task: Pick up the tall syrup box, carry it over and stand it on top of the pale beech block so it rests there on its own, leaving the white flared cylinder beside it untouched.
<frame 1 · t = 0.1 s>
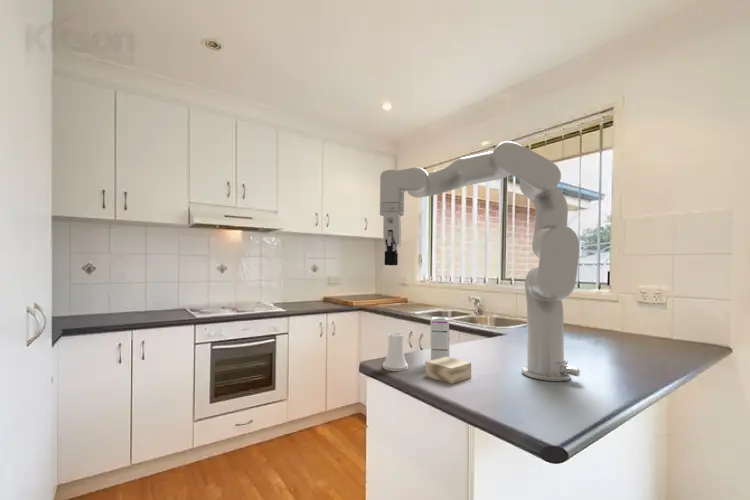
hand: (391, 265, 112), 31 cm above the countertop, tool pointing down, fingers open, 9 cm apart
beech block: (448, 376, 101), on the countertop
white flared cylinder: (395, 368, 110), on the countertop
syrup box: (440, 364, 115), on the countertop
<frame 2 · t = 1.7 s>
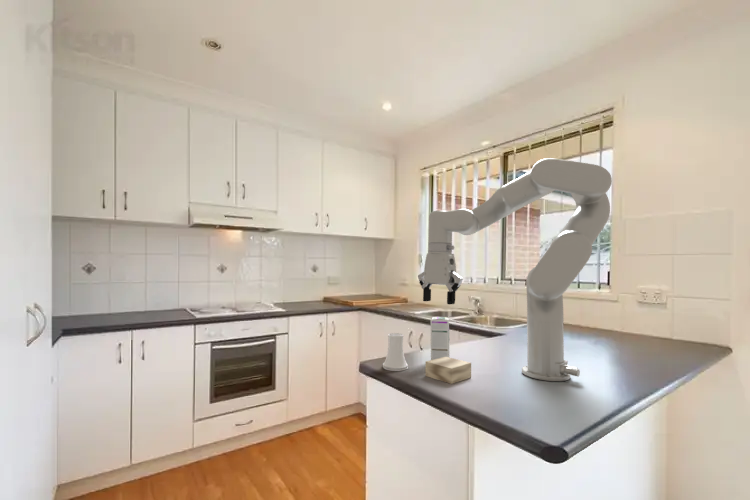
hand: (438, 302, 116), 19 cm above the countertop, tool pointing down, fingers open, 9 cm apart
nothing on the countertop moved.
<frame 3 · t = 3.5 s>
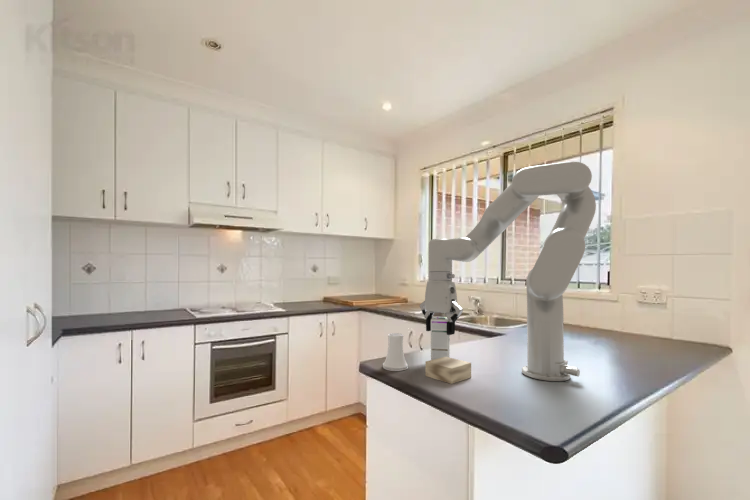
hand: (440, 332, 115), 10 cm above the countertop, tool pointing down, fingers closed on syrup box, 7 cm apart
syrup box: (440, 364, 115), on the countertop, touching gripper
everything else where it was.
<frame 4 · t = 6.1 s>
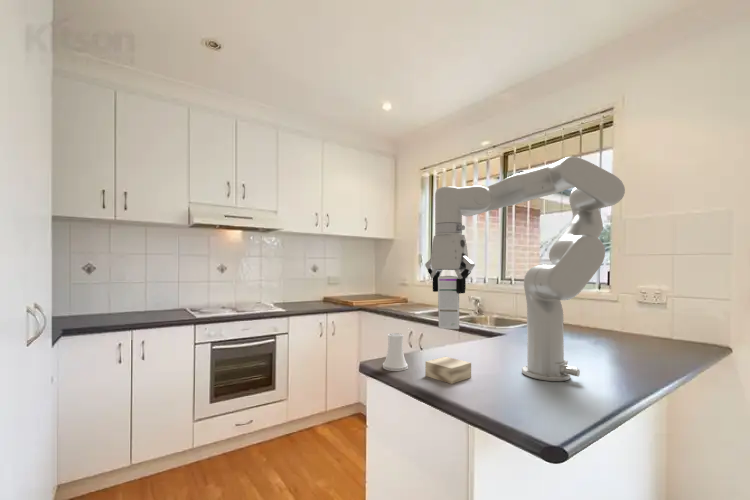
hand: (448, 292, 103), 24 cm above the countertop, tool pointing down, fingers closed on syrup box, 7 cm apart
syrup box: (448, 328, 102), point 14 cm above the countertop, touching gripper
everything else where it was.
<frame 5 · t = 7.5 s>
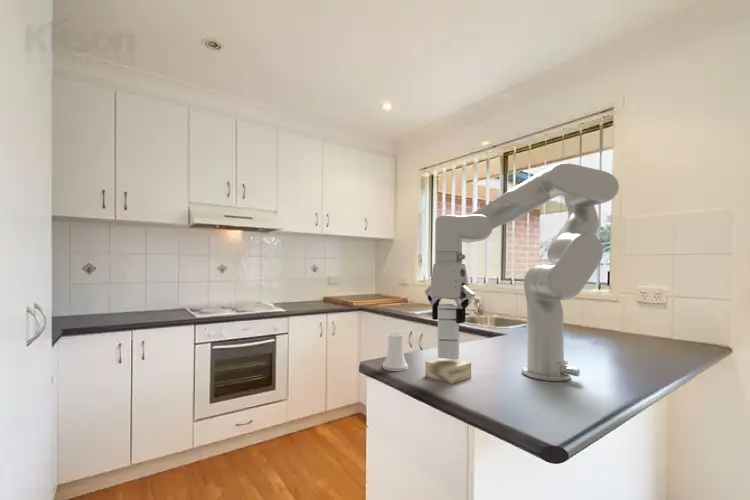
hand: (448, 320, 102), 16 cm above the countertop, tool pointing down, fingers closed on syrup box, 7 cm apart
syrup box: (448, 357, 102), point 5 cm above the countertop, touching gripper
everything else where it was.
when the fingers open (15 cm above the countertop, at t = 8.7 s): syrup box stays where it is, resting on beech block.
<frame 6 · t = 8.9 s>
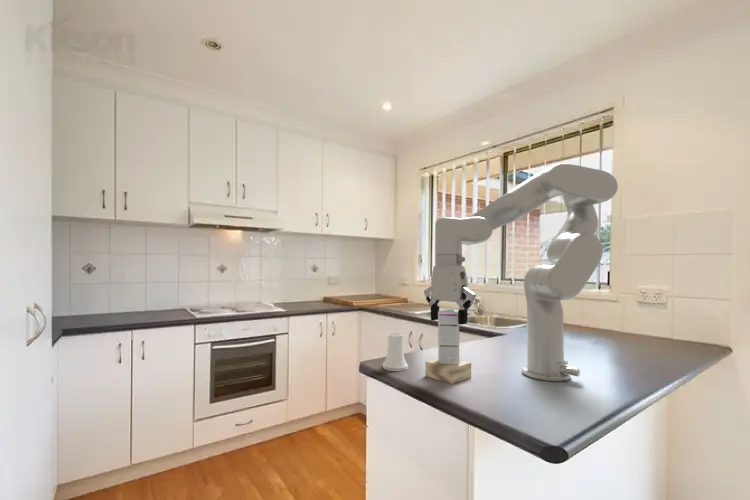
hand: (448, 321, 102), 15 cm above the countertop, tool pointing down, fingers open, 9 cm apart
syrup box: (448, 362, 102), point 4 cm above the countertop, touching beech block
everything else where it was.
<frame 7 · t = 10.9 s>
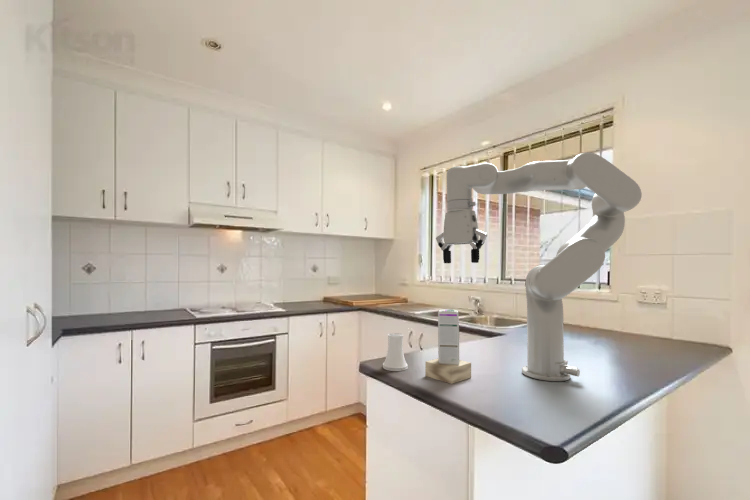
hand: (460, 263, 111), 32 cm above the countertop, tool pointing down, fingers open, 9 cm apart
nothing on the countertop moved.
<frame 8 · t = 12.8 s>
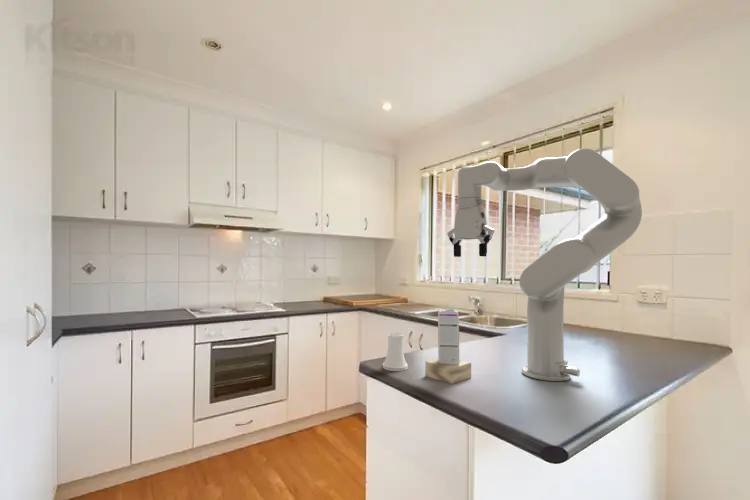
hand: (469, 256, 119), 34 cm above the countertop, tool pointing down, fingers open, 9 cm apart
nothing on the countertop moved.
at the end: syrup box 0.2 cm off-centre on the beech block, point 3.8 cm above the beech block's base; syrup box tilted 0°; white flared cylinder tilted 0° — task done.
